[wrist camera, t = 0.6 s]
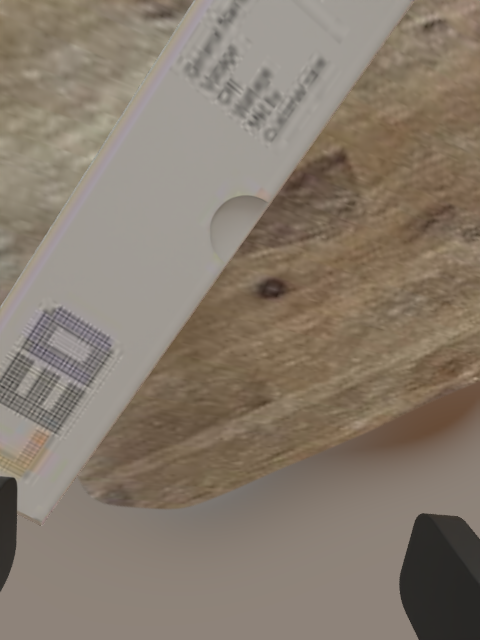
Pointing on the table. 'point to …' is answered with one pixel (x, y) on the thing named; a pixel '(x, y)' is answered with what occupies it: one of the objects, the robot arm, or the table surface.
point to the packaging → (165, 217)
